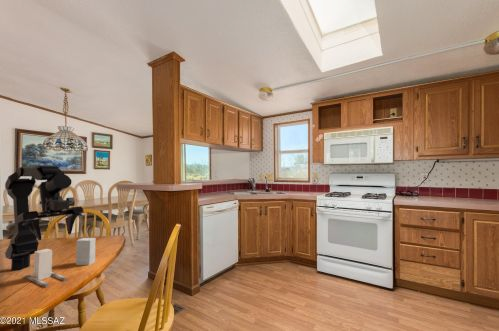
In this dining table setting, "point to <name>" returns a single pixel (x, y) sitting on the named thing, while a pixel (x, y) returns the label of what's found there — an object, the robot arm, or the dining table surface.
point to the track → (43, 281)
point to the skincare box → (85, 251)
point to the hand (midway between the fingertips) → (55, 237)
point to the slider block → (42, 264)
